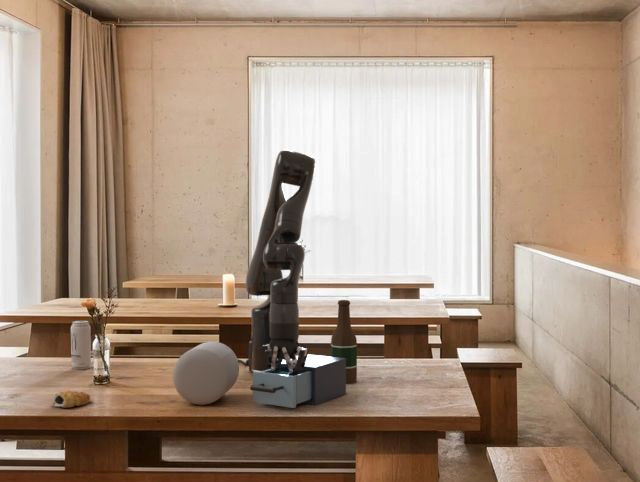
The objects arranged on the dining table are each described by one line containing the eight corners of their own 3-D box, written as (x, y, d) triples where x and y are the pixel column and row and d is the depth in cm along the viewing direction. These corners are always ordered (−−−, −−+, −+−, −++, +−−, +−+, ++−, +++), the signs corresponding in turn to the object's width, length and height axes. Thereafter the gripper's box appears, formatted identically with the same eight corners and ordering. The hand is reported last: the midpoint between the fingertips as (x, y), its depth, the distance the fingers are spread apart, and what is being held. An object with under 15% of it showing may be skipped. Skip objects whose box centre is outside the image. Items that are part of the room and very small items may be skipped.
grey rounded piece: (148, 385, 215) (190, 356, 238) (185, 428, 214) (223, 394, 238) (194, 341, 208) (233, 316, 232) (233, 386, 208) (267, 355, 231)
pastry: (79, 399, 220) (79, 385, 220) (96, 403, 216) (96, 388, 216) (50, 406, 212) (49, 391, 212) (66, 410, 208) (66, 395, 208)
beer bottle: (354, 384, 240) (354, 302, 238) (328, 383, 241) (328, 301, 239) (358, 379, 247) (359, 299, 246) (333, 378, 249) (333, 298, 247)
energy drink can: (67, 368, 264) (66, 321, 263) (84, 365, 269) (83, 319, 268) (78, 370, 260) (77, 323, 259) (94, 368, 265) (94, 321, 264)
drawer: (282, 412, 202) (282, 380, 202) (241, 405, 209) (241, 375, 208) (324, 397, 219) (324, 367, 218) (284, 391, 225) (284, 363, 225)
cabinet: (315, 404, 214) (315, 367, 213) (271, 398, 221) (271, 362, 221) (345, 393, 228) (346, 358, 227) (303, 388, 235) (303, 353, 234)
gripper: (315, 320, 212) (315, 386, 213) (270, 316, 219) (270, 380, 221) (299, 323, 206) (299, 391, 207) (253, 319, 213) (253, 385, 214)
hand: (284, 385), depth 214 cm, fingers closed on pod, 4 cm apart
